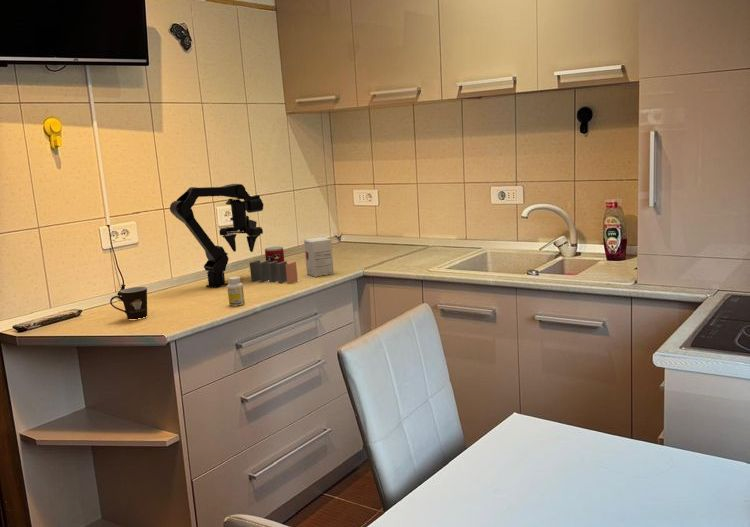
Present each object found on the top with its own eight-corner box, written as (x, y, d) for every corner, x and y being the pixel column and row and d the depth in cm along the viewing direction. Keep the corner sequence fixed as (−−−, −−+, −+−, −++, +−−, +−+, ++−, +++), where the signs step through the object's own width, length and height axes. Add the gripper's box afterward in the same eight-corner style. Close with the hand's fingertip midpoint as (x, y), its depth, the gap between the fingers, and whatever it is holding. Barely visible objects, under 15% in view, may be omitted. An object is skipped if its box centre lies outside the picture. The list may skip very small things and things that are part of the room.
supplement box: (306, 274, 295) (303, 239, 292) (325, 271, 299) (322, 236, 296) (314, 277, 287) (311, 241, 284) (334, 274, 291) (331, 238, 288)
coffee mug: (153, 313, 244) (149, 286, 242) (146, 320, 236) (142, 291, 234) (120, 316, 244) (116, 288, 242) (111, 323, 236) (107, 294, 234)
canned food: (263, 274, 301) (261, 249, 299) (274, 270, 308) (272, 246, 306) (278, 275, 298) (275, 249, 296) (288, 271, 304) (286, 246, 302)
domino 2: (263, 282, 285) (261, 263, 283) (260, 282, 286) (258, 263, 284) (270, 279, 289) (268, 260, 288) (267, 279, 290) (265, 260, 288)
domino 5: (290, 283, 278) (288, 264, 277) (287, 283, 279) (285, 264, 278) (297, 281, 283) (295, 261, 281) (294, 280, 283) (292, 261, 282)
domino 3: (272, 282, 283) (270, 263, 281) (269, 282, 283) (267, 263, 282) (279, 280, 287) (277, 261, 285) (276, 280, 288) (274, 260, 286)
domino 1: (254, 281, 287) (252, 262, 285) (251, 281, 288) (249, 262, 286) (262, 279, 291) (260, 260, 290) (258, 279, 292) (257, 260, 291)
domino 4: (281, 283, 281) (279, 263, 279) (278, 283, 281) (276, 263, 280) (288, 280, 285) (286, 261, 283) (285, 280, 286) (283, 261, 284)
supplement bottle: (238, 302, 253) (235, 275, 251) (247, 303, 250) (245, 276, 248) (226, 305, 249) (223, 278, 247) (236, 307, 246) (233, 279, 244)
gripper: (269, 211, 290) (272, 248, 293) (234, 211, 299) (238, 247, 302) (252, 215, 280) (256, 253, 283) (216, 215, 289) (220, 252, 292)
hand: (243, 251), depth 290 cm, fingers open, 9 cm apart
